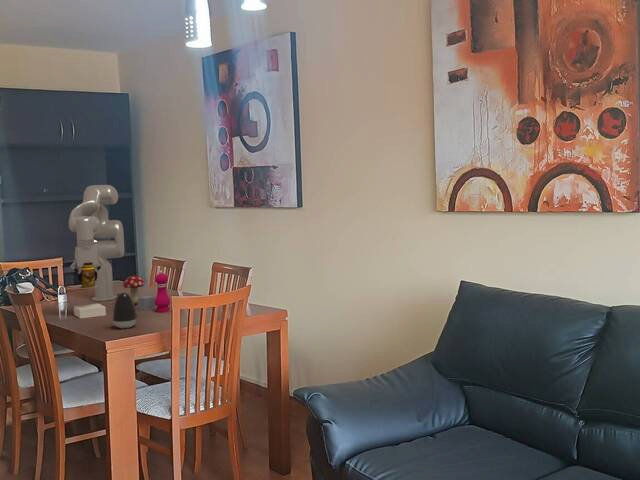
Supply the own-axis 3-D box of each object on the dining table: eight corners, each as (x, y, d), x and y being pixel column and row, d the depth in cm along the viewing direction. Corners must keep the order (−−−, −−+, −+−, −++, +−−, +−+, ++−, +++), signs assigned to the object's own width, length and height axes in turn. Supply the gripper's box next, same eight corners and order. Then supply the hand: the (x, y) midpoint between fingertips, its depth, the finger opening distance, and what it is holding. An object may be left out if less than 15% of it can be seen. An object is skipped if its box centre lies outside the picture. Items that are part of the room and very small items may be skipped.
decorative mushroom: (125, 307, 363) (123, 277, 362) (122, 304, 373) (120, 275, 372) (147, 305, 367) (146, 276, 366) (144, 301, 378) (142, 273, 376)
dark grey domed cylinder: (130, 323, 322) (128, 290, 320) (141, 326, 314) (139, 292, 313) (108, 327, 315) (106, 293, 314) (119, 330, 307) (117, 295, 306)
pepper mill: (173, 310, 351) (171, 269, 350) (165, 313, 345) (163, 271, 343) (160, 309, 354) (158, 269, 352) (152, 312, 347) (150, 271, 345)
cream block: (74, 314, 348) (73, 306, 347) (99, 311, 354) (98, 303, 354) (80, 318, 338) (79, 310, 337) (106, 315, 344) (105, 306, 343)
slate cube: (138, 309, 357) (137, 297, 357) (148, 307, 362) (148, 295, 361) (145, 310, 353) (144, 298, 353) (155, 308, 357) (154, 296, 357)
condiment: (90, 288, 340) (88, 263, 339) (75, 288, 342) (73, 263, 341) (99, 286, 346) (98, 261, 345) (84, 286, 349) (83, 261, 348)
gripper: (101, 241, 350) (103, 278, 352) (65, 244, 341) (67, 282, 343) (106, 242, 344) (108, 280, 346) (68, 245, 335) (71, 283, 337)
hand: (87, 280), depth 344 cm, fingers closed on condiment, 6 cm apart
